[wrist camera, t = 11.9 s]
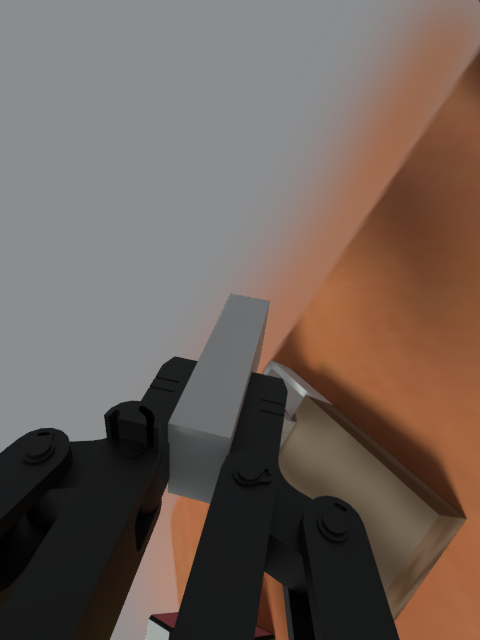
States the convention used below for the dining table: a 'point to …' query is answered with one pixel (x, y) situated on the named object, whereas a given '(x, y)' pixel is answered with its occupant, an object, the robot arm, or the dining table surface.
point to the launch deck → (370, 495)
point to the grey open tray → (292, 386)
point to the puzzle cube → (164, 625)
